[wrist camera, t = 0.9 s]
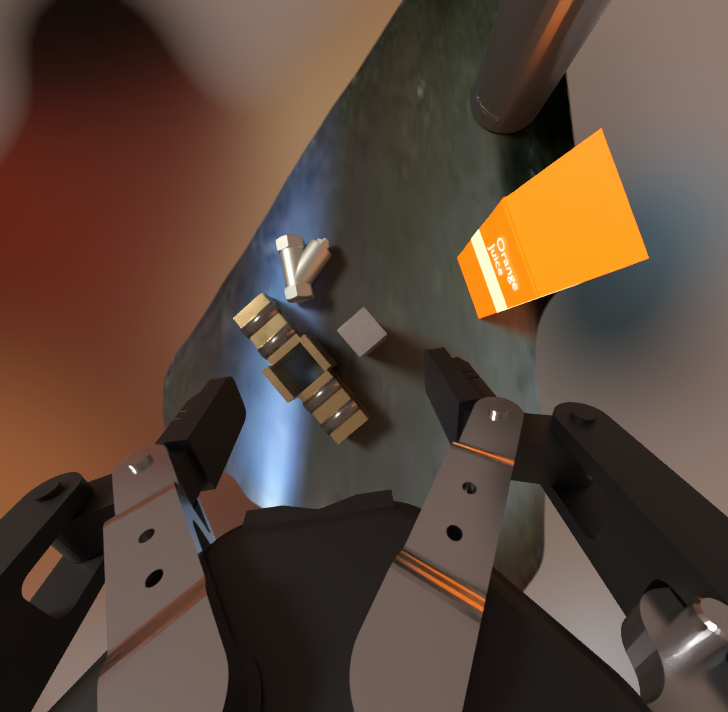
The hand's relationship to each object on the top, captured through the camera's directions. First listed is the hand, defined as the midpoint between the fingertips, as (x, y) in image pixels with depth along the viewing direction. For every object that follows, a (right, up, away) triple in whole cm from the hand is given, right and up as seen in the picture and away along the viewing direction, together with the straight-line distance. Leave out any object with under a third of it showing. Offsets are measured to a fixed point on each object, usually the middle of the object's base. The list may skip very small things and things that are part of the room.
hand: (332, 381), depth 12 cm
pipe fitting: (-6, +13, +27) cm, 31 cm away
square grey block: (+2, +4, +27) cm, 27 cm away
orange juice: (+19, +11, +26) cm, 34 cm away
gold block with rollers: (-7, 0, +27) cm, 28 cm away
